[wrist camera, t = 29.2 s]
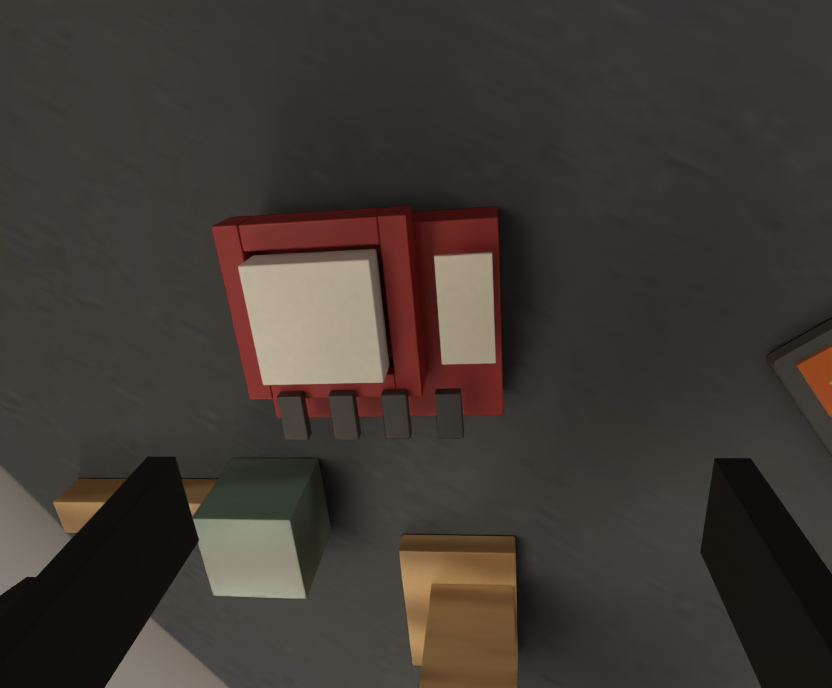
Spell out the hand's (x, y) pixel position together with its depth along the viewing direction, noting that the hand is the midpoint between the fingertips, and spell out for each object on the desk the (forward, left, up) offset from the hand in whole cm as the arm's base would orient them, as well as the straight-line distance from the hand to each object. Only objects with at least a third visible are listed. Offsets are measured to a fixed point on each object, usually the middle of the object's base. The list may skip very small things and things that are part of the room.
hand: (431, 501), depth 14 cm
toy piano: (+1, -4, -17) cm, 17 cm away
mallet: (+13, -17, -17) cm, 27 cm away
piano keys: (+1, -4, -12) cm, 13 cm away
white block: (-1, -6, -13) cm, 14 cm away
